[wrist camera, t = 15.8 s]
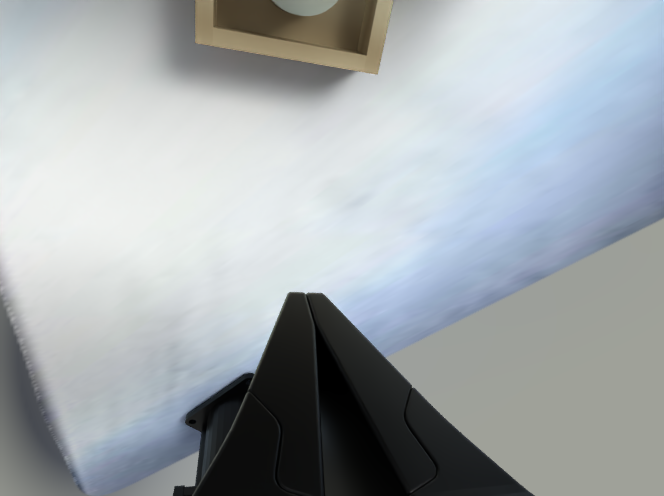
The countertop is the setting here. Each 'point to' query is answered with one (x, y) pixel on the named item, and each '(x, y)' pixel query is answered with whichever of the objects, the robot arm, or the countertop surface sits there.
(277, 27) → the tan wooden rectangular tray
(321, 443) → the robot arm
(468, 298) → the countertop surface
